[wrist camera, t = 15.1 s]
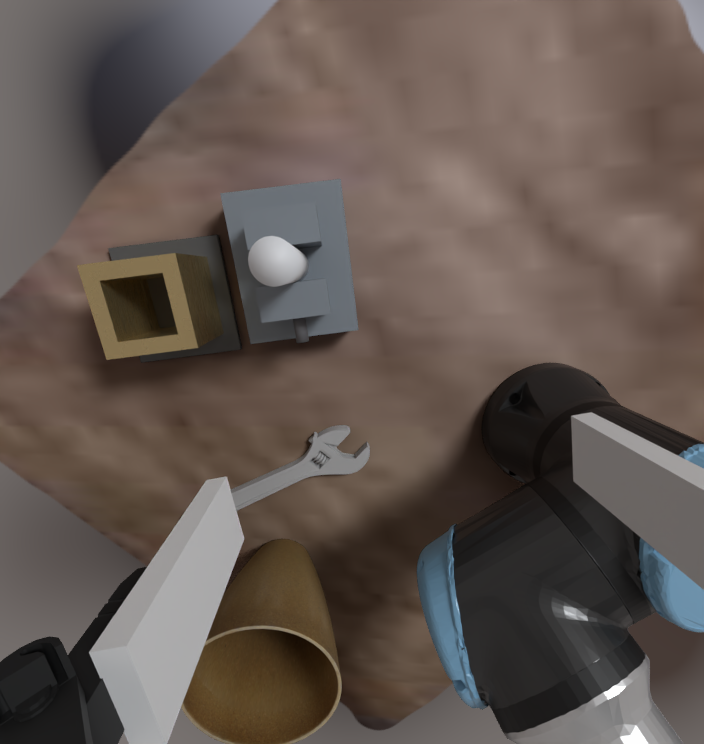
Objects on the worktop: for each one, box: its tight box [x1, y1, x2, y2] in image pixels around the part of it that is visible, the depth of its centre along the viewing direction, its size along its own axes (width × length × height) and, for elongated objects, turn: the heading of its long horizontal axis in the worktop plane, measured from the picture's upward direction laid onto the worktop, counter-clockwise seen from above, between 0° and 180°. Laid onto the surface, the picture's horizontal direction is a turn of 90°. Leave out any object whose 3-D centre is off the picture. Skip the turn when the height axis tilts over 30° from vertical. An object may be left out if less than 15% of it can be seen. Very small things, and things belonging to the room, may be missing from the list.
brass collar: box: [77, 253, 224, 360], centre depth 35 cm, size 8×8×8 cm
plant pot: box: [181, 539, 342, 744], centre depth 41 cm, size 15×15×16 cm
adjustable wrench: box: [231, 425, 370, 511], centre depth 45 cm, size 25×6×2 cm, turn 111°
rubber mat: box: [108, 235, 242, 363], centre depth 39 cm, size 12×11×1 cm
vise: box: [221, 179, 358, 344], centre depth 31 cm, size 14×11×17 cm
